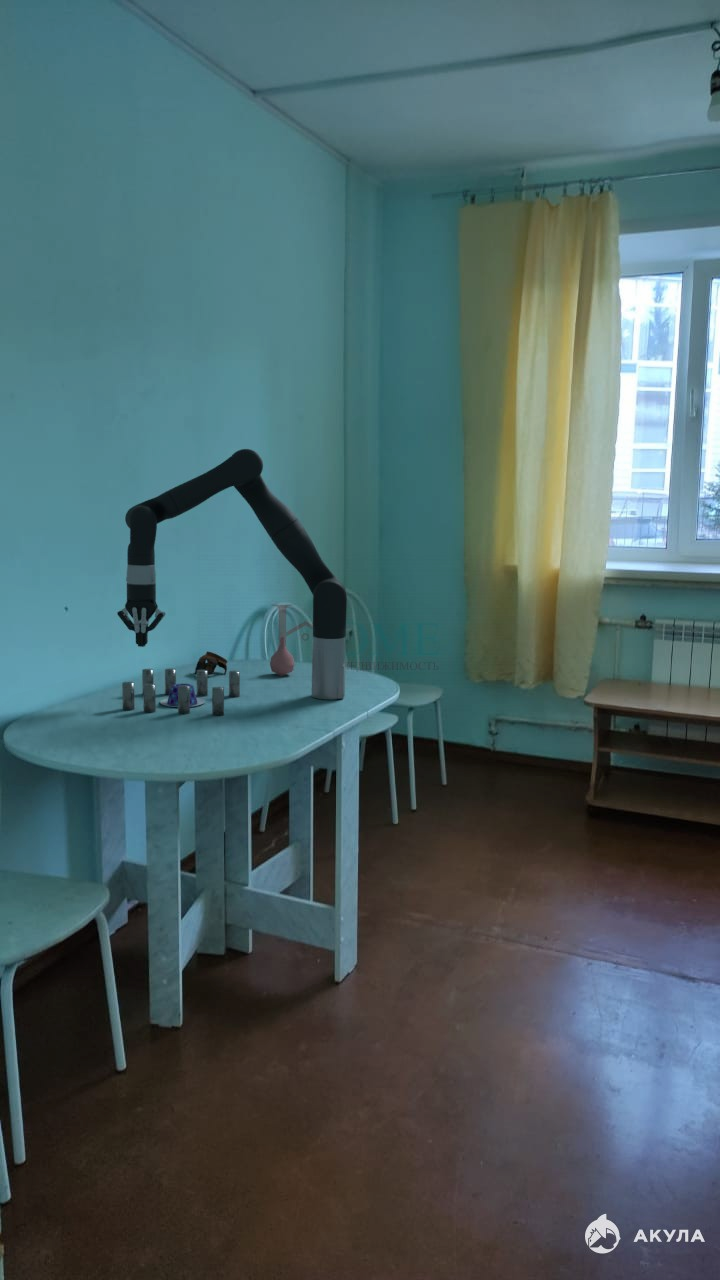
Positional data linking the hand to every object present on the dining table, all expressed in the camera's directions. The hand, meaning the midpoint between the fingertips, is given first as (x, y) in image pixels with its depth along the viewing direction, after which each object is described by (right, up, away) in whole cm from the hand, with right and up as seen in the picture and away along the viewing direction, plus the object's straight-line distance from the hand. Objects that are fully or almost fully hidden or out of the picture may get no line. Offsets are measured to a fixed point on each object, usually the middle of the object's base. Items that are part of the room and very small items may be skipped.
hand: (141, 646), depth 248 cm
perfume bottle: (+34, -10, +43) cm, 56 cm away
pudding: (+11, -16, +2) cm, 19 cm away
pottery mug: (+12, -10, +40) cm, 43 cm away
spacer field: (+11, -15, +2) cm, 19 cm away
